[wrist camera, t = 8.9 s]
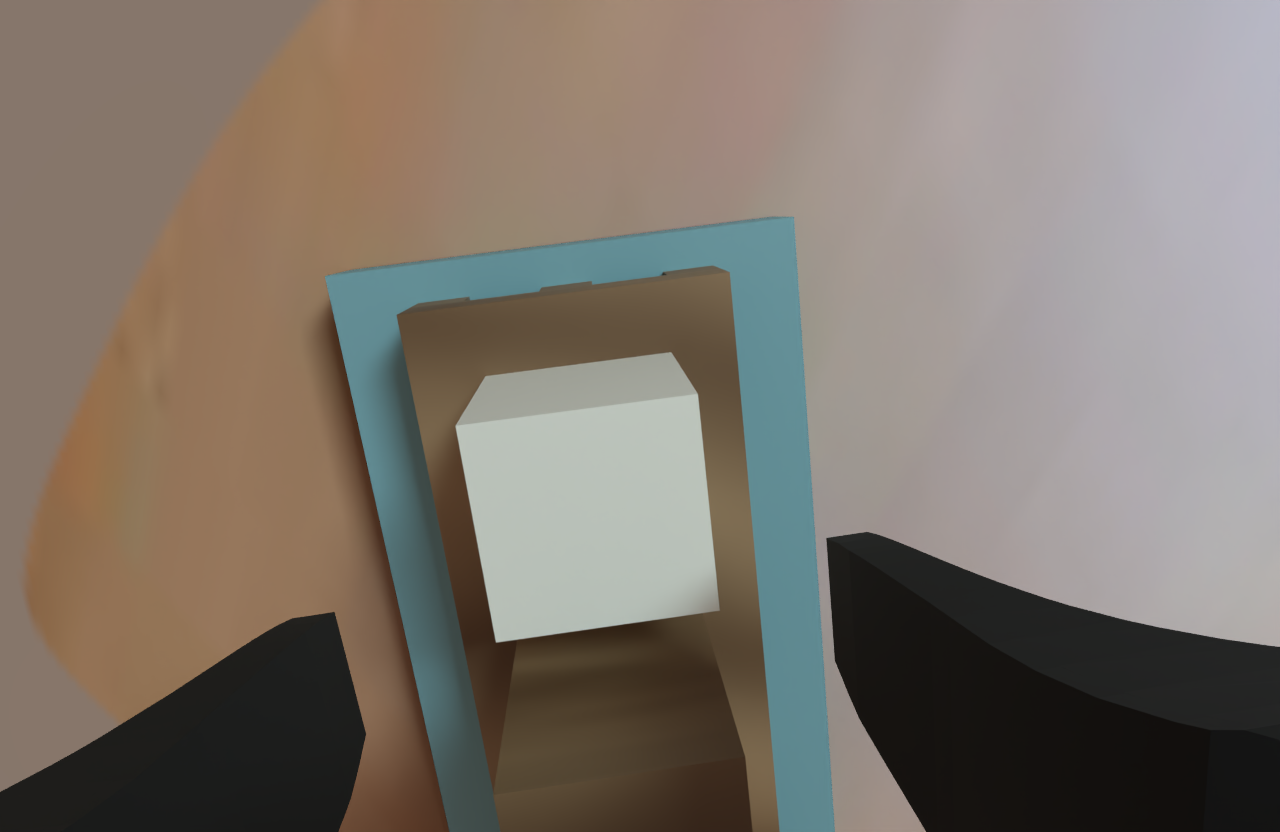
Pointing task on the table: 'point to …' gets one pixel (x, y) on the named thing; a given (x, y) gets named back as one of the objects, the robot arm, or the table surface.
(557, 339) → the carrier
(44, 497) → the table surface
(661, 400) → the block
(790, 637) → the dock
